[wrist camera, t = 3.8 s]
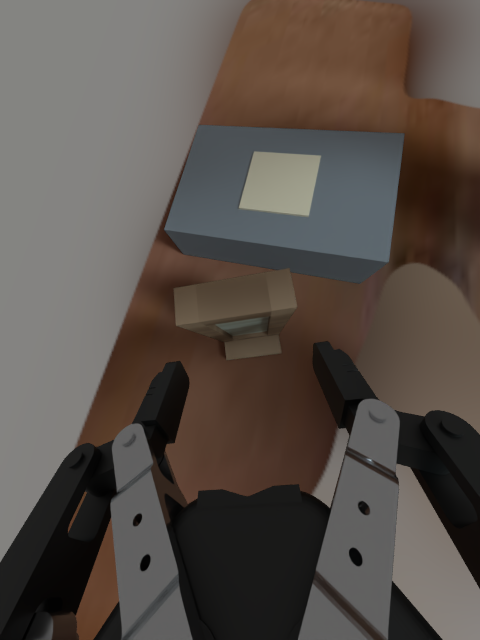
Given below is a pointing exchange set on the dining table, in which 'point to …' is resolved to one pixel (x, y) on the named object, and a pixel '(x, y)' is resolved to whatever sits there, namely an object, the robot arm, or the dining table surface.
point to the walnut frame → (239, 311)
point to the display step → (289, 199)
